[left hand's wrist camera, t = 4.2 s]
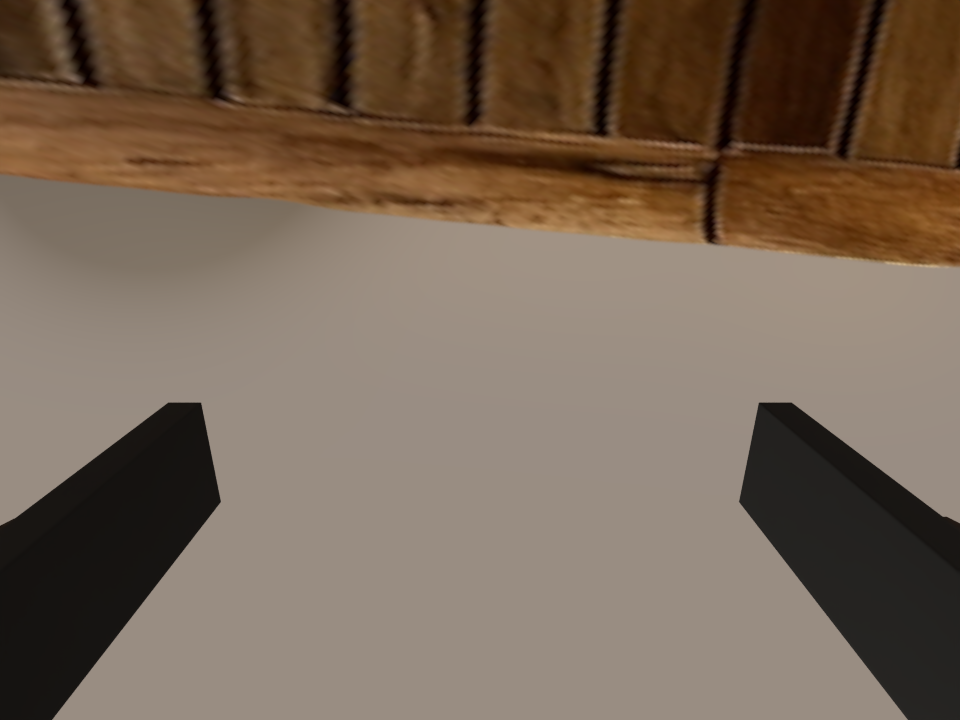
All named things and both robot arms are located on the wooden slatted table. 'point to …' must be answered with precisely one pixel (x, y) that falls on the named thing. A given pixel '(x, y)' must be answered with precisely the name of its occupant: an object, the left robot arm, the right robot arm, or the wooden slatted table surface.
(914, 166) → the wooden slatted table surface
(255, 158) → the wooden slatted table surface
